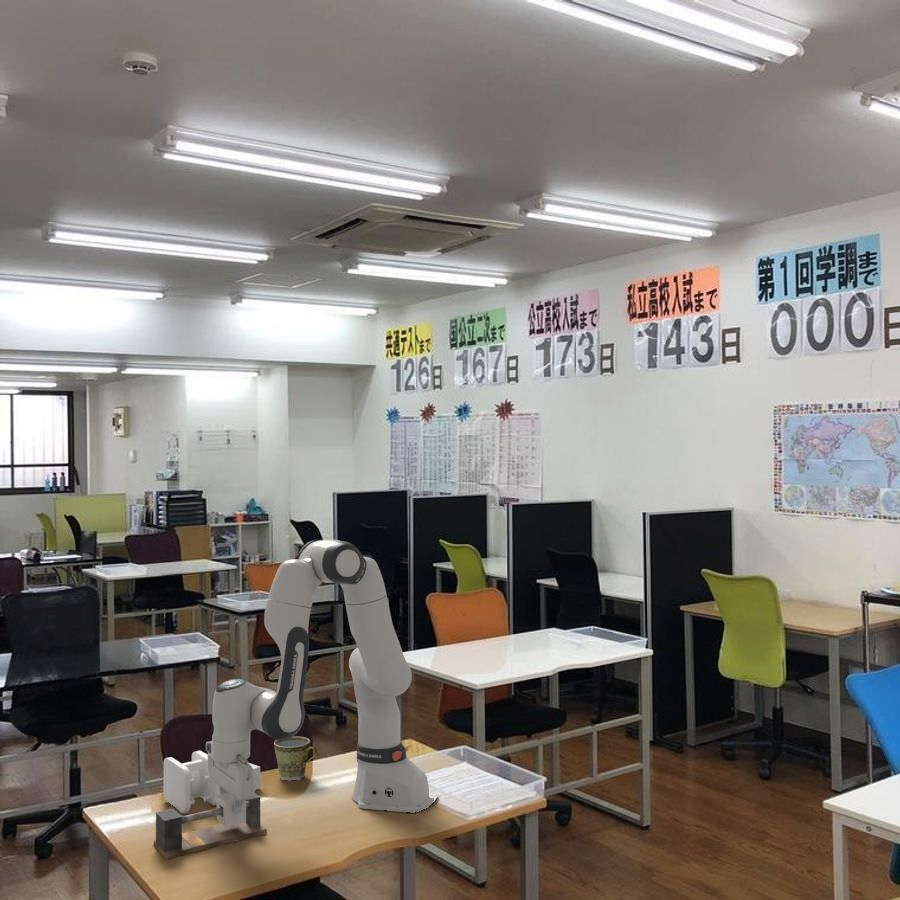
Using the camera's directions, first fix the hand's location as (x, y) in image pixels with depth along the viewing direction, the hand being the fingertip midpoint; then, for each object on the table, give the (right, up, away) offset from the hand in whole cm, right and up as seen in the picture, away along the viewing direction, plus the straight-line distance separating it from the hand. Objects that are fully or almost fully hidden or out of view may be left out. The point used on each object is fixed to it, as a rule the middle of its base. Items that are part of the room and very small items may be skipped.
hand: (231, 808), depth 218 cm
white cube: (0, -3, 0) cm, 3 cm away
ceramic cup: (+9, -7, +38) cm, 40 cm away
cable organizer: (-15, -7, +19) cm, 25 cm away
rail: (-4, -6, -3) cm, 8 cm away
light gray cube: (-4, -7, +30) cm, 31 cm away
